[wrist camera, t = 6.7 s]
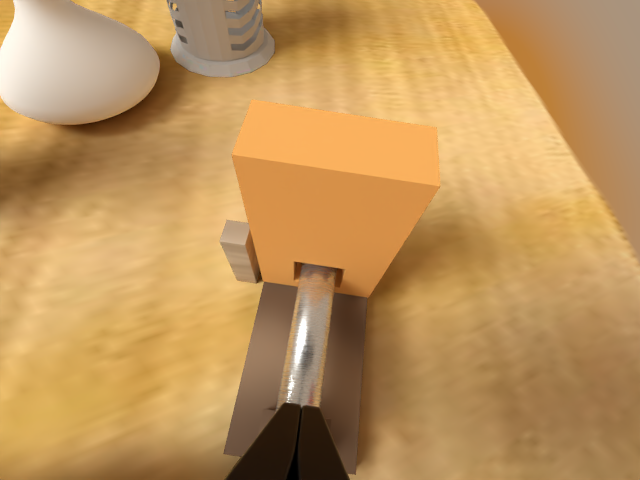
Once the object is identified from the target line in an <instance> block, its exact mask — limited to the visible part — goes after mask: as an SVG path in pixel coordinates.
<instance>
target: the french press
mask: <svg viewBox="0 0 640 480" xmlns="http://www.w3.org/2000/svg"><path fill="white" fill-rule="evenodd" d="M169 2H170V6H169ZM167 3H168V7H169V10H170V13H171V17H172V20H173V22H174V25H175V30H176V34H175V36H174V37H173V41H172V45H171V49H170V50H171V52H172V54H173V57H174V59H175V61H176V62H177V63H179V64H180V65H182V66H183V67H184V68H186V69H187V70H189V71H191V72H194V73H198V74H201V75H205V76H209V77H234V76H238V75H242V74H246V73H251V72H253V71H255V70H256V69H258V68H260V67H261V66H263V65H265V64H267V62H268V61H269V60H270V58H271V57H272V55H273V54H274V52H275V40H274V39H273V38H272V36H271V35H270V33H269V32H268V31H267V30H266V29H265V28H264V27H263V14H262V2H261V0H234V1H228V0H167ZM173 3H176V4H177V8H176V9H175V11H174V10H172V7H173ZM258 4H260V10H259V9H257V7H258ZM228 11H236V13H235V12H228ZM173 18H174V19H175V21H174V19H173Z"/></svg>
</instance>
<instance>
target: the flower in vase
mask: <svg viewBox="0 0 640 480" xmlns="http://www.w3.org/2000/svg"><path fill="white" fill-rule="evenodd" d="M13 1H14V6H15V16H14V20H13V23H12V25H11V28H10V30H9V32H8V34H7V36H6V38H5V40H4V42H3V44H2V46H1V49H0V96H1V98H2V100H3V101H4V102H5V104H6V105H7V106H9V107H10V108H11V109H12V110H14V111H16V112H17V113H19V114H21V115H24V116H26V117H29V118H32V119H35V120H38V121H42V122H45V123H51V124H60V125H76V124H85V123H91V122H96V121H100V120H104V119H107V118H110V117H113V116H116V115H118V114H120V113H122V112H125V111H126V110H128V109H130V108H132V107H133V106H135V105H136V104H138V103H139V102H140V101H142V100H143V99H144V98H145V97H146V96H147V95H148V94H149V93H150V91H151V90H152V88H153V87H154V85H155V83H156V81H157V77H158V74H159V69H160V61H159V57H158V55H157V53H156V51H155V50H154V48H153V47H152V46H151V45H150V44H149V42H148V41H147V40H146V39H145V38H144V37H143V36H142V35H141V34H139V33H137V32H136V31H134V30H133V29H131V28H129V27H127V26H126V25H124V24H122V23H120V22H118V21H116V20H113V19H111V18H109V17H106V16H104V15H102V14H99V13H96V12H94V11H91V10H89V9H86V8H84V7H82V6H80V5H77V4H75V3H74V2H72V1H70V0H13Z"/></svg>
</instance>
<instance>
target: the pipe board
mask: <svg viewBox="0 0 640 480" xmlns="http://www.w3.org/2000/svg"><path fill="white" fill-rule="evenodd" d="M220 243H221V245H222V248H223V250H224V252H225V254H226V257H227V259H228V261H229V263H230V266H231V268H232V270H233V272H234V275H235V277H236V279H237V280H239V281H245V282H252V283H257V279H258V275H259V271H260V267H259V263H258V259H257V255H256V251H255V247H254V243H253V239H252V235H251V231H250V227H249V223H244V222H238V221H231V220H227V221H226V224H225V227H224V230H223V233H222V236H221V239H220ZM297 289H298V287H296V286H290V285H283V284H277V283H270V282H264V285H263V289H262V293H261V297H260V302H259V306H258V310H257V314H256V318H255V323H254V327H253V331H252V335H251V340H250V344H249V348H248V352H247V356H246V361H245V365H244V369H243V373H242V378H241V382H240V386H239V390H238V395H237V399H236V403H235V407H234V411H233V416H232V420H231V424H230V428H229V433H228V437H227V441H226V445H225V449H224V454H227V455H234V456H240V457H242V456H243V454H244V453H245V452H246V450H247V449H248V448H249V446H250V445H251V444H252V443H253V441H254V440H255V439H256V437H257V436H258V435H259V433H260V432H261V431H262V429H263V428H264V427H265V426H266V424H267V423H268V422H269V420H270V419H271V418H272V416H273V415H274V414H275V412H276V406H277V401H278V395H279V389H280V384H281V378H282V373H283V367H284V362H285V356H286V351H287V345H288V339H289V334H290V328H291V323H292V317H293V312H294V306H295V300H296V295H297ZM366 311H367V297H361V296H355V295H348V294H342V293H335V292H334V298H333V306H332V314H331V323H330V331H329V339H328V348H327V356H326V364H325V373H324V381H323V389H322V398H321V406H320V409H321V411H322V413H323V416H324V418H325V420H326V423H327V425H328V428H329V430H330V433H331V435H332V437H333V440H334V442H335V445H336V447H337V450H338V452H339V454H340V457H341V459H342V462H343V464H344V466H345V469H346V471H347V473H348V474H355V475H356V462H357V447H358V432H359V417H360V402H361V386H362V371H363V356H364V341H365V326H366Z"/></svg>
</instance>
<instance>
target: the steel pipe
mask: <svg viewBox="0 0 640 480" xmlns="http://www.w3.org/2000/svg"><path fill="white" fill-rule="evenodd" d="M301 265H302V267H301V273H300V278H299V284H298V289H297V295H296V300H295V306H294V312H293V317H292V323H291V328H290V334H289V339H288V345H287V351H286V356H285V362H284V367H283V373H282V378H281V384H280V389H279V395H278V401H277V406H276V411H277V410H278V409H279V407H280V406H281V405H282V404H283V403H284V402H290V403H297V404H300V405H301V408H302V406H303V405H310V406H316V407H319V408H320V406H321V398H322V389H323V381H324V373H325V364H326V356H327V348H328V339H329V331H330V323H331V314H332V306H333V298H334V289H335V281H336V273H337V270H338V268H334V267H327V266H321V265H314V264H308V263H301ZM275 413H276V412H275Z"/></svg>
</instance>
